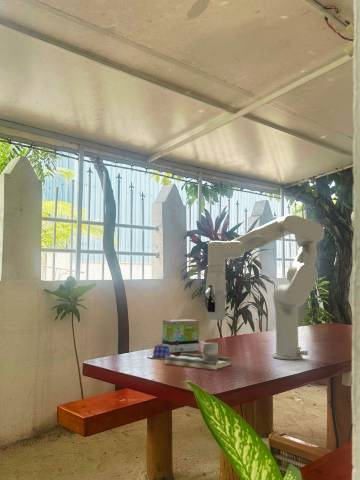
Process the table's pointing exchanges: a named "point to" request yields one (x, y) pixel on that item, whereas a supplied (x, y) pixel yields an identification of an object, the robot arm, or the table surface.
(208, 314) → the can
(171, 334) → the tea box
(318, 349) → the table surface
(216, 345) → the grey tray
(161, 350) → the blue plaid cloth
